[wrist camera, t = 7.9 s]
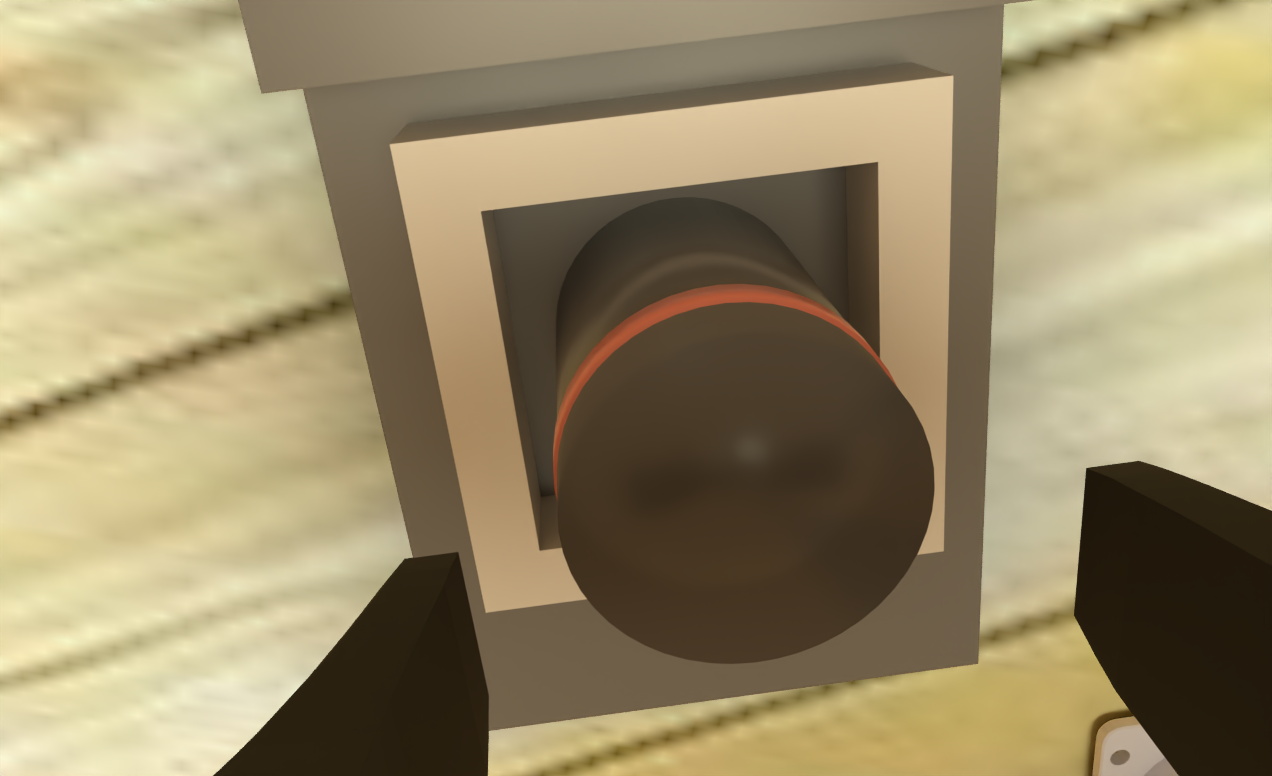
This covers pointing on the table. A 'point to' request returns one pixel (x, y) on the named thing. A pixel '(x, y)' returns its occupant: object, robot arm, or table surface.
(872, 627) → the base with square socket
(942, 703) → the table surface
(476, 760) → the robot arm
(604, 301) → the lens
